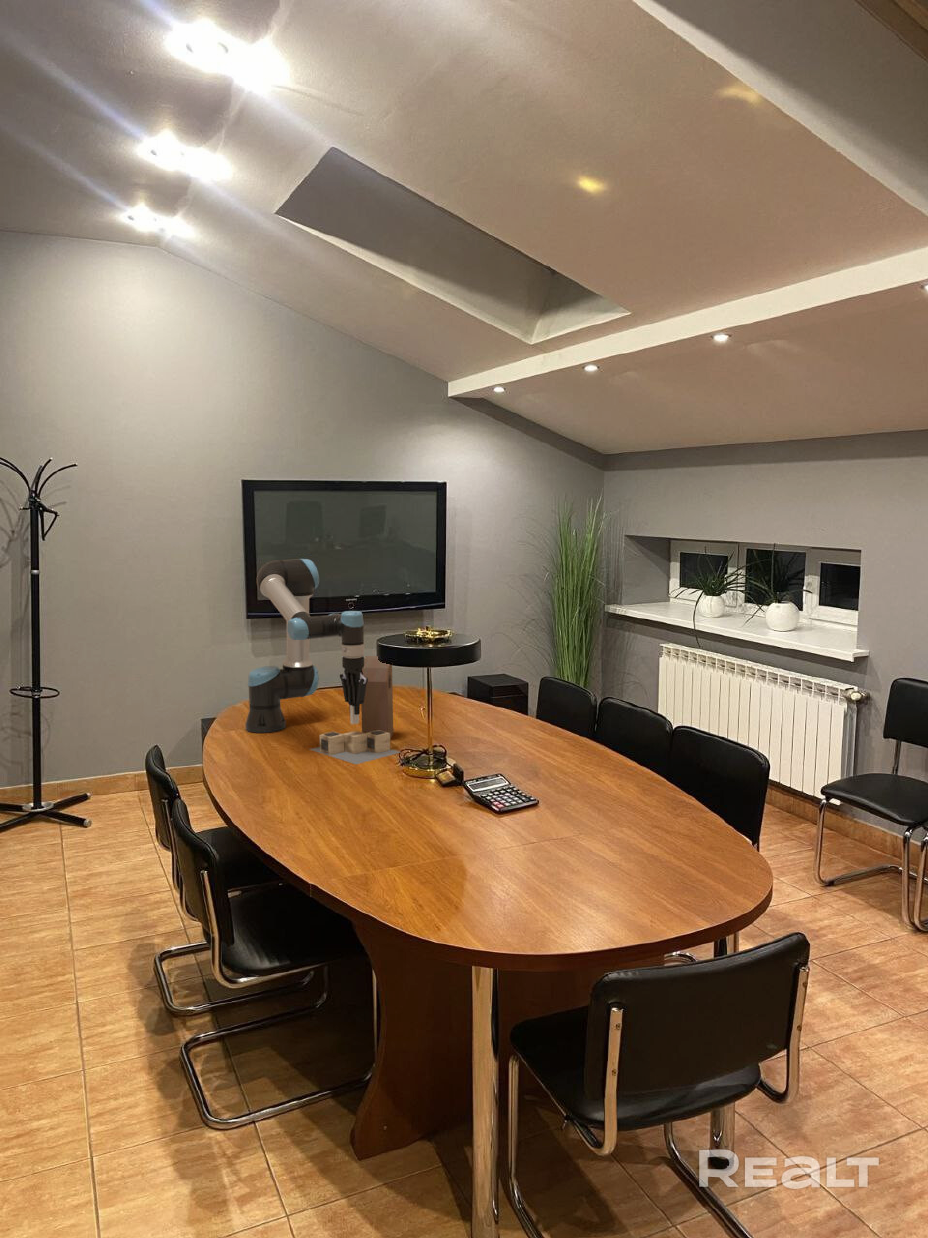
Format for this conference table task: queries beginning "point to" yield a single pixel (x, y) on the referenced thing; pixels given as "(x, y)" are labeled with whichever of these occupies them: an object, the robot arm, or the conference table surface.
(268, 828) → the conference table surface
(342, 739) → the marked block
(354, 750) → the plain block
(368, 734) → the marked block
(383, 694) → the decorative block
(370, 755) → the mat
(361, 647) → the robot arm
